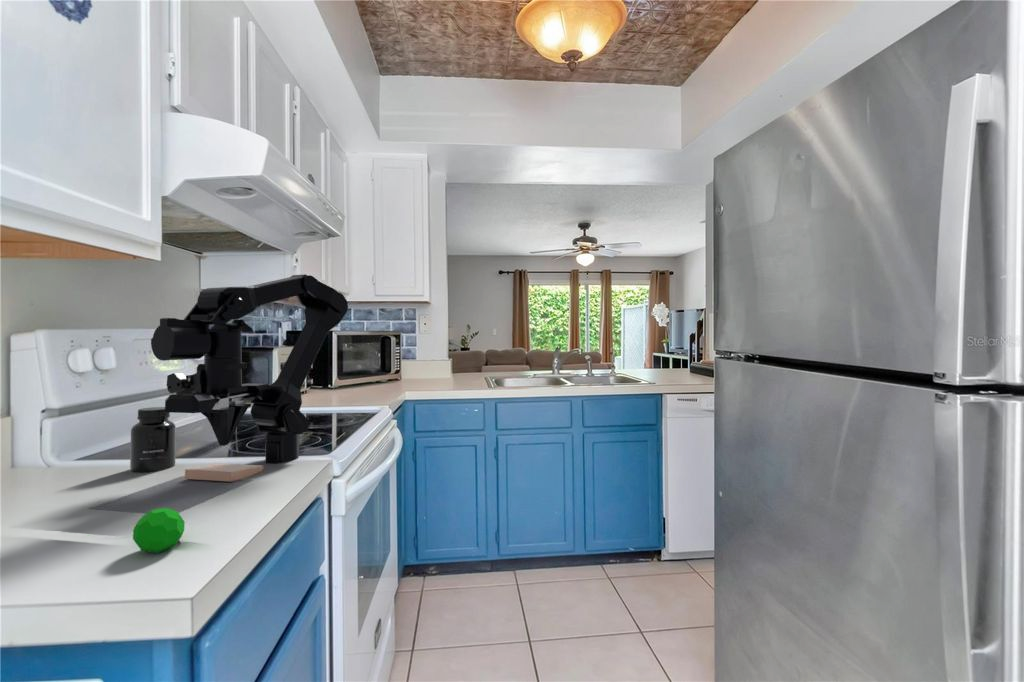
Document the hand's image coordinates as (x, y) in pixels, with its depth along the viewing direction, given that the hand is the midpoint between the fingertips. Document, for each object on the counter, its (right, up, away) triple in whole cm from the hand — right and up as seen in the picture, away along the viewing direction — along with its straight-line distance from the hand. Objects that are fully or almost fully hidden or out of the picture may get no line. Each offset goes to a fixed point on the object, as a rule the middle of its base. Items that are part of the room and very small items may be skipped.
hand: (223, 445), depth 85 cm
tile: (-1, -4, -3) cm, 6 cm away
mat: (-1, -6, -9) cm, 11 cm away
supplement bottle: (-16, -6, +5) cm, 18 cm away
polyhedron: (+9, -7, -27) cm, 29 cm away
